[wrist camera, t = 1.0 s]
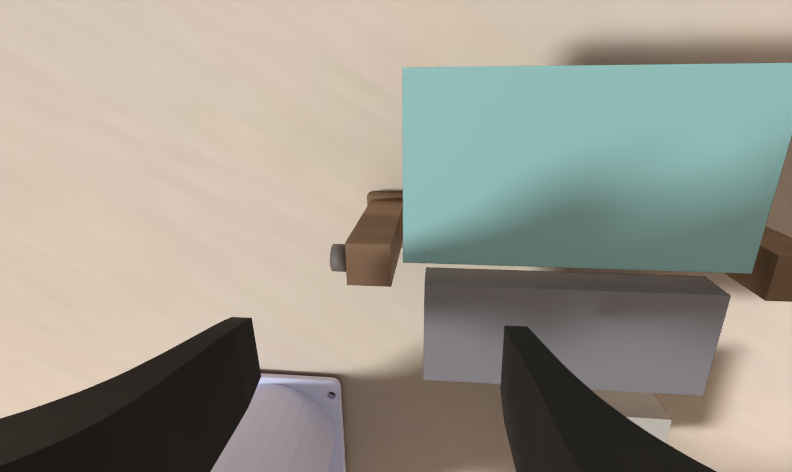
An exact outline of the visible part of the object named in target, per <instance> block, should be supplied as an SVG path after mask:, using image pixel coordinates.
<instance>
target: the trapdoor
mask: <svg viewBox="0 0 792 472" xmlns="http://www.w3.org/2000/svg"><path fill="white" fill-rule="evenodd" d="M402 69H403V262H404V263H435V264H467V265H498V266H530V267H561V268H593V269H624V270H655V271H687V272H718V273H750V274H752V270H753V267H754V264H755V260H756V257H757V253H758V250H759V246H760V243H761V239H762V236H763V233H764V229H765V226H766V222H767V219H768V215H769V212H770V209H771V205H772V202H773V198H774V195H775V191H776V188H777V184H778V181H779V178H780V174H781V171H782V167H783V164H784V160H785V157H786V153H787V150H788V147H789V143H790V140H791V136H792V63H734V64H653V65H572V66H491V67H410V68H402ZM730 297H731V296H730V295H729V294H728V293H726V292H725V291H724V290H722V289H721V288H719V287H718V286H717V285H715V284H714V283H713V282H711V281H710V280H709V279H707V278H706V277H702V276H672V275H641V274H611V273H580V272H550V271H519V270H489V269H458V268H428V267H426V275H425V296H424V361H423V380H436V381H453V382H470V383H487V384H501V371H502V355H503V340H504V326H528V328H529V329H530V330H531V331H532V332H533V333H534V334H535V335H536V336H537V337H538V338H539V339H540V340H541V341H542V343H543V344H544V345H545V346H546V347H547V348H548V349H549V350H550V351H551V352H552V353H553V354H554V355H555V356H556V357H557V358H558V360H559V361H560V362H561V363H562V364H563V365H565V366H566V367H567V368H568V369H569V370H570V371H571V372H572V373H573V374H574V375H575V376H576V377H577V378H578V379H579V380H580V381H582V382H583V383H584V384H585V385H586V386H587V387H588V388H590V389H591V390H608V391H625V392H642V393H659V394H676V395H694V396H703V394H704V390H705V386H706V383H707V379H708V376H709V372H710V368H711V365H712V361H713V358H714V354H715V351H716V347H717V343H718V340H719V336H720V333H721V329H722V325H723V322H724V318H725V315H726V311H727V307H728V304H729V300H730Z"/></svg>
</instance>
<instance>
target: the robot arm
mask: <svg viewBox="0 0 792 472" xmlns="http://www.w3.org/2000/svg"><path fill="white" fill-rule="evenodd" d="M500 389H501V397H502V406H503V414H504V422H505V426H506V431H507V435H508V439H509V443H510V447H511V451H512V456H513V460H514V464H515V468H516V472H716V471H714V470H712V469H711V468H709V467H707V466H705V465H703V464H701V463H699V462H697V461H696V460H694V459H692V458H690V457H688V456H687V455H685V454H683V453H681V452H680V451H678V450H676V449H674V448H673V447H671V446H669V445H668V444H666V443H665V442H663V441H662V440H660V439H658V438H657V437H655V436H654V435H652V434H650V433H649V432H647V431H646V430H644V429H643V428H641V427H640V426H638V425H637V424H635V423H634V422H632V421H631V420H629V419H628V418H627V417H625V416H624V415H623V414H621V413H620V412H619V411H617V410H616V409H614V408H613V407H612V406H610V405H609V404H608V403H606V402H605V401H604V400H603V399H601V398H600V397H599V396H598V395H597V394H595V393H594V392H593V391H592V390H591V389H590V388H588V387H587V386H586V385H585V384H584V383H583V382H582V381H580V380H579V379H578V378H577V377H576V376H575V375H574V374H573V373H572V372H571V371H570V370H569V369H568V368H567V367H566V366H565V365H563V364H562V363H561V362H560V361H559V360H558V358H557V357H556V356H555V355H554V354H553V353H552V352H551V351H550V350H549V349H548V348H547V347H546V346H545V345H544V344H543V343H542V341H541V340H540V339H539V338H538V337H537V336H536V335H535V334H534V333H533V332H532V331H531V330H530V329H529V328H528V326H504V340H503V355H502V371H501V386H500ZM329 392H334V393H335V395H332V394H330V393H329ZM0 472H346V462H345V445H344V429H343V413H342V396H341V384H340V382H339V380H337V379H336V378H333V377H317V376H300V375H283V374H266V373H260V367H259V361H258V354H257V348H256V342H255V336H254V330H253V324H252V318H239V317H231V318H229V319H226V320H224V321H222V322H220V323H218V324H216V325H214V326H212V327H210V328H208V329H207V330H205V331H203V332H201V333H199V334H197V335H196V336H194V337H192V338H190V339H188V340H187V341H185V342H183V343H181V344H179V345H177V346H176V347H174V348H172V349H170V350H168V351H166V352H164V353H162V354H160V355H159V356H157V357H155V358H153V359H151V360H149V361H147V362H145V363H143V364H141V365H139V366H137V367H135V368H133V369H131V370H129V371H127V372H125V373H122V374H120V375H118V376H116V377H114V378H111V379H109V380H107V381H104V382H102V383H100V384H97V385H95V386H93V387H90V388H88V389H85V390H83V391H80V392H78V393H75V394H72V395H69V396H67V397H64V398H61V399H58V400H56V401H53V402H50V403H47V404H44V405H42V406H39V407H36V408H33V409H30V410H27V411H24V412H20V413H17V414H14V415H11V416H8V417H4V418H1V419H0Z"/></svg>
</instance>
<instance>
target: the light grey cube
mask: <svg viewBox="0 0 792 472" xmlns="http://www.w3.org/2000/svg"><path fill="white" fill-rule="evenodd" d="M592 391H593V392H594V393H595V394H597V395H598V396H599V397H600V398H601V399H603V400H604V401H605V402H606V403H608V404H609V405H610V406H612V407H613V408H614V409H616V410H617V411H619V412H620V413H621V414H623V415H624V416H625V417H627V418H628V419H629V420H631V421H632V422H634V423H635V424H637V425H638V426H640V427H641V428H643V429H644V430H646V431H647V432H649V433H650V434H652V435H654V436H655V437H657V438H658V439H660V440H662V441H663V442H665V443H666V441H667V437H668V433H669V430H670V426H671V422H672V419H671V418H670V416H669V415H668V413H667V412H666V410H665V409H664V407H663V406H662V404H661V403H660V402H659V400H658V399H657V397H656V396H655V394H654V393H642V392H625V391H608V390H592Z"/></svg>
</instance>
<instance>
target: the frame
mask: <svg viewBox="0 0 792 472" xmlns="http://www.w3.org/2000/svg"><path fill="white" fill-rule="evenodd" d="M367 205H368V206H367V208H366V210H365V211H364V213H363V215H362V216H361V218H360V220H359V221H358V223H357V224H356V226H355V228H354V229H353V231H352V233H351V234H350V236H349V238H348V239H347V241H346V243H345V244H333V245H332V248H331V253H330V266H331V270H332V271H342V272H346V274H347V285H362V286H389V287H391V285H392V281H393V277H394V273H395V269H396V265H397V261H398V257H399V253H400V249H401V248H403V192H369V194H368V195H367ZM725 274H726V275H728V276H729V277H731V278H732V279H734V280H735V281H737V282H738V283H740V284H741V285H743V286H744V287H746V288H747V289H749V290H750V291H752V292H753V293H755V294H756V295H758V296H759V297H761V298H762V299H764V300H765V301H790V302H792V238H790V237H788V236H786V235H784V234H781V233H779V232H777V231H774V230H772V229H770V228H768V227H765V229H764V233H763V236H762V239H761V243H760V246H759V250H758V253H757V257H756V260H755V264H754V267H753V270H752V274H750V273H725Z"/></svg>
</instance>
